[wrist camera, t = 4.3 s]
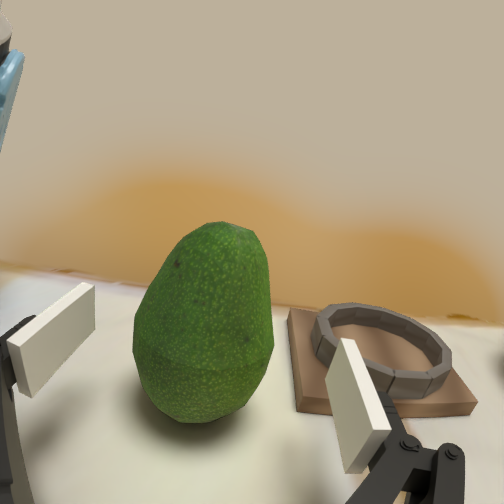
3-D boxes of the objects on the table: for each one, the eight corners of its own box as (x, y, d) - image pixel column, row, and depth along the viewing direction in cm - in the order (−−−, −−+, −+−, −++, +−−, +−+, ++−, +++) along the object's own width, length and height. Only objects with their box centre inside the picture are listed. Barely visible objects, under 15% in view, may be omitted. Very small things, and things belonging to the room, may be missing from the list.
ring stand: (297, 411, 20) (311, 373, 19) (287, 320, 34) (295, 290, 33) (469, 414, 20) (489, 382, 19) (416, 339, 34) (426, 312, 33)
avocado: (274, 405, 20) (323, 236, 17) (201, 472, 14) (241, 258, 11) (187, 355, 24) (210, 202, 21) (107, 394, 18) (107, 205, 14)
